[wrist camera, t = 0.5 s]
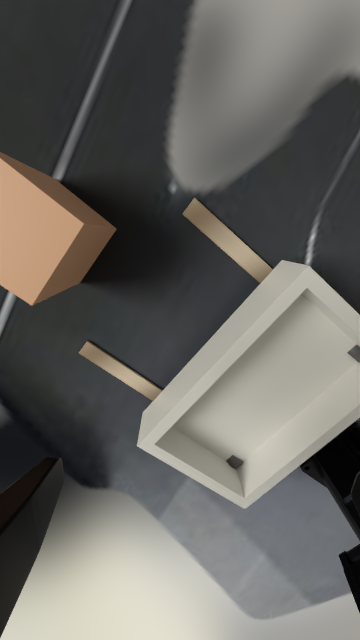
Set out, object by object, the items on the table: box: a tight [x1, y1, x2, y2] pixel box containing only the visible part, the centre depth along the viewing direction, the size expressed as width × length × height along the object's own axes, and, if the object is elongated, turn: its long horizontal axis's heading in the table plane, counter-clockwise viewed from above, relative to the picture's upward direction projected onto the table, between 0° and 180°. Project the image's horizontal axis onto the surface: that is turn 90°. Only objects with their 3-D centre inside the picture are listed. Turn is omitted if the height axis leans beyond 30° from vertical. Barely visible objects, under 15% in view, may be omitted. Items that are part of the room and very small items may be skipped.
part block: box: [0, 152, 116, 305], centre depth 13 cm, size 4×4×6 cm
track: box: [79, 198, 273, 401], centre depth 19 cm, size 17×14×1 cm
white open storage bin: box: [137, 260, 360, 509], centre depth 17 cm, size 10×15×4 cm, turn 141°
